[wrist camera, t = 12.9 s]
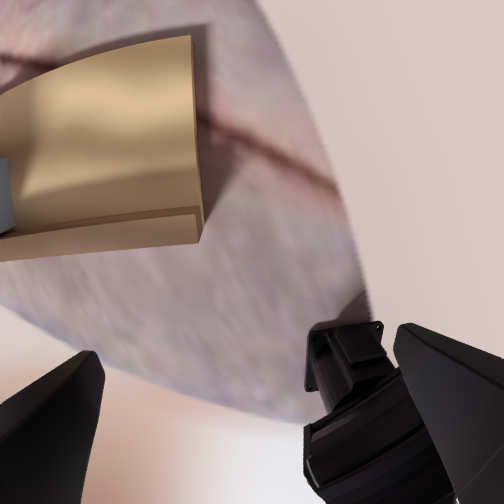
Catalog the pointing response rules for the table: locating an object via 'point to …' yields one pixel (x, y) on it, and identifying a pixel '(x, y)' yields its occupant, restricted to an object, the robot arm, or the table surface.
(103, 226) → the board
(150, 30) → the table surface
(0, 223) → the block
